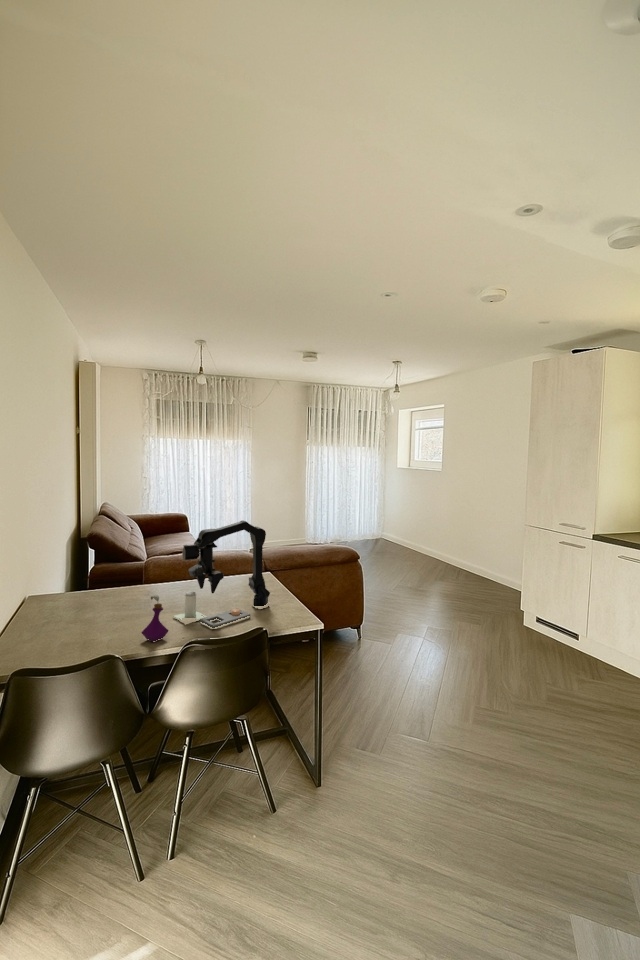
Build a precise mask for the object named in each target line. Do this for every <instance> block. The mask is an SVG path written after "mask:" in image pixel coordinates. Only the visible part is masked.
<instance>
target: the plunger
mask: <svg viewBox="0 0 640 960" xmlns="http://www.w3.org/2000/svg"><path fill="white" fill-rule="evenodd" d="M233 609H234V610H233ZM233 609H230V610H231V615H233V616H237V615H240V610H241V609H240V610H239V608H233Z"/></svg>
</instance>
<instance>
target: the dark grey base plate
mask: <svg viewBox="0 0 640 960" xmlns="http://www.w3.org/2000/svg"><path fill="white" fill-rule="evenodd" d="M234 609H235V608H233V609H230V610H226V611H224V612H221V613H217V614H213V615H210V616H207V617H206V618H202V619H200V621H199V623H200V622H202V623H205V624H207V625H208V626H210V627H212V628H215V627H218V626H221V625H223V624H227V623H230V622H233V621H236V620H238V619H241V618H245V617H247V616H250V617H251V614H250V613H249V612H247V611H244V610H242V609H239V608H238V609H239V610H240V614H241V615H237V616H233V615H231V610H234ZM216 618H217V619H219V620H221V621H220V622H219V621H215V622H210V620H214V619H216Z"/></svg>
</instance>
